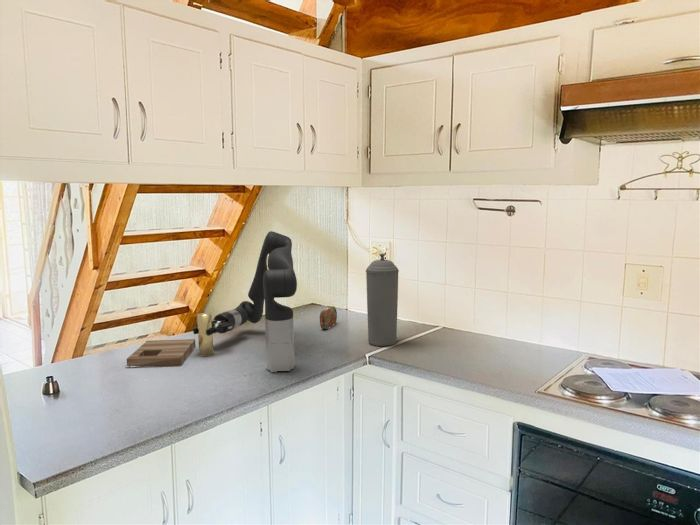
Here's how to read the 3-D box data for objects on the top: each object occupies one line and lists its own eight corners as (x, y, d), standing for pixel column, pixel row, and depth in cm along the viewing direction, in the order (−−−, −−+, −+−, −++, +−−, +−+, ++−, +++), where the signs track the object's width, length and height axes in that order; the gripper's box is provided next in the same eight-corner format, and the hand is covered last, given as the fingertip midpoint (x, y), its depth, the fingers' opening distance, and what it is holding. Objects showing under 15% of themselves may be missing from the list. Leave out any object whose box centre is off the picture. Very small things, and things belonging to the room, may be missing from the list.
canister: (369, 337, 205) (368, 251, 201) (400, 339, 203) (400, 251, 198) (363, 346, 193) (362, 255, 188) (396, 348, 190) (396, 255, 186)
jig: (181, 365, 173) (180, 357, 173) (127, 367, 172) (126, 359, 172) (195, 346, 195) (195, 339, 195) (147, 348, 194) (146, 340, 193)
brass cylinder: (212, 356, 184) (209, 315, 181) (198, 356, 183) (195, 316, 181) (214, 351, 188) (212, 312, 186) (200, 352, 188) (198, 312, 186)
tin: (325, 331, 215) (325, 312, 214) (318, 330, 216) (318, 311, 215) (337, 323, 230) (337, 304, 228) (331, 322, 231) (330, 304, 229)
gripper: (211, 310, 200) (183, 320, 184) (243, 312, 195) (217, 323, 179) (212, 328, 201) (184, 340, 185) (244, 331, 196) (218, 344, 180)
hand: (200, 332), depth 182 cm, fingers closed on brass cylinder, 5 cm apart
